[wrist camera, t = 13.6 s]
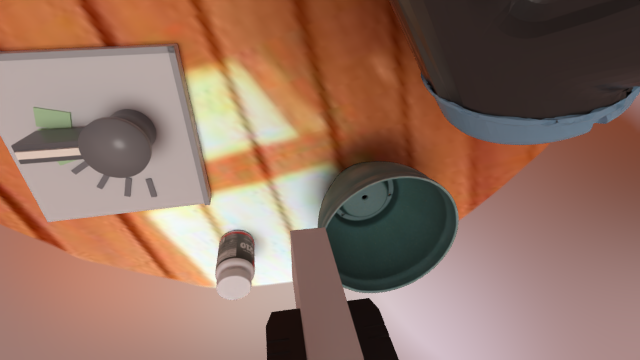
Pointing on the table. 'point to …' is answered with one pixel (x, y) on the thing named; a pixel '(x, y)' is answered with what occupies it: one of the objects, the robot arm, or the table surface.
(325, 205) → the flower pot
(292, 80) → the table surface
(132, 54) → the tuner board
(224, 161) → the table surface
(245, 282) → the pill bottle
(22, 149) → the tuner knob
